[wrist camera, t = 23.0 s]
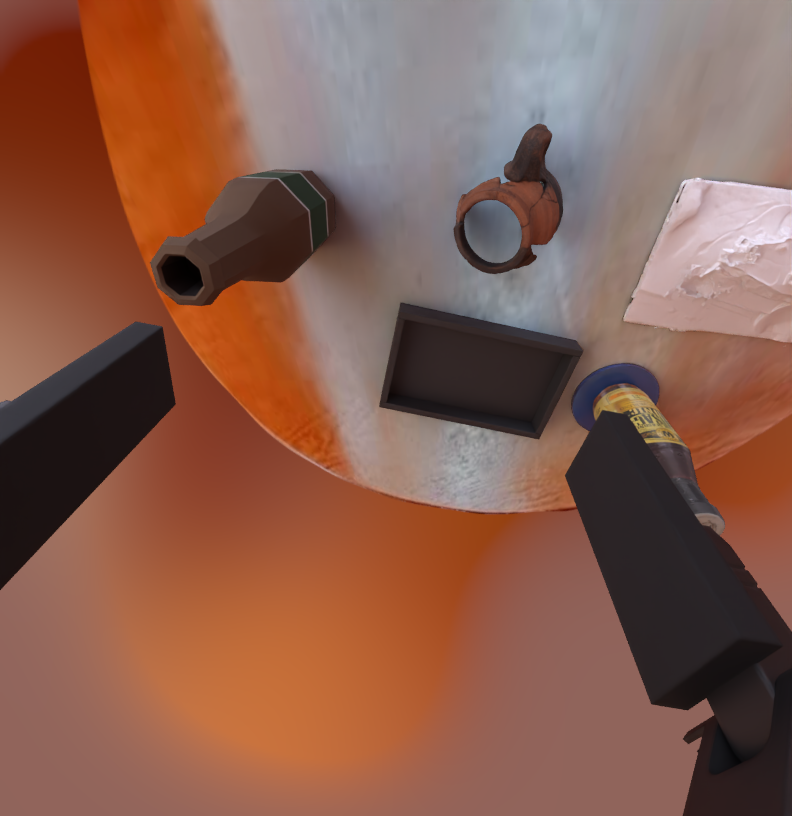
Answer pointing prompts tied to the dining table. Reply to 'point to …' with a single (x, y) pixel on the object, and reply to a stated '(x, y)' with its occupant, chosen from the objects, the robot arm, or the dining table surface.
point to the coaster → (608, 377)
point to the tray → (476, 371)
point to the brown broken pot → (519, 201)
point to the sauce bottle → (661, 446)
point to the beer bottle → (248, 236)
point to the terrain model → (721, 263)
